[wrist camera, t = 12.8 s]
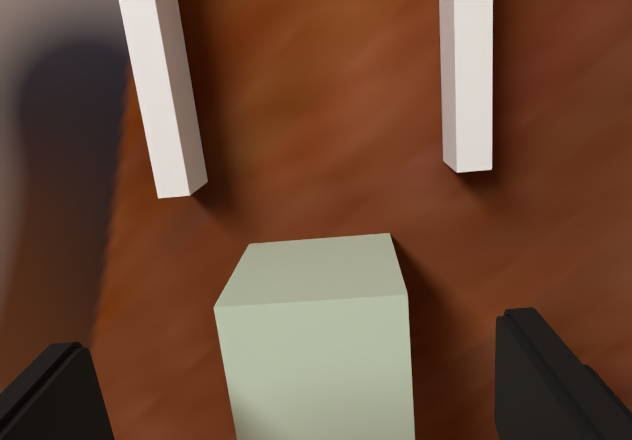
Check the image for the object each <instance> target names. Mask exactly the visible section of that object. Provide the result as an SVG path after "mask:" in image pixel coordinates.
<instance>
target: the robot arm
mask: <svg viewBox="0 0 632 440" xmlns="http://www.w3.org/2000/svg"><path fill="white" fill-rule="evenodd" d="M495 424H496V429H497V432H498V435H499V437H500V439H501V440H632V413H631V412H630V411H629V410H628V409H627V408H626V406H625V405H624V404H623V403H622V402H621V401H620V400H619V398H618V397H617V396H616V395H615V394H614V393H613V392H612V390H611V389H610V388H609V387H608V386H607V385H606V384H605V382H604V381H603V380H602V379H601V378H600V377H599V376H598V374H597V373H596V372H595V371H594V370H593V369H592V368H591V367H589V366H587V365H583V364H582V363H581V362H580V361H579V360H578V359H577V357H576V356H575V355H574V354H573V353H572V352H571V350H570V349H569V348H568V347H567V346H566V345H565V343H564V342H563V341H562V340H561V339H560V337H559V336H558V335H557V334H556V333H555V332H554V330H553V329H552V328H551V327H550V326H549V325H548V323H547V322H546V321H545V320H544V319H543V318H542V316H541V315H540V314H539V313H538V312H537V311H536V309H534V308H532V307H530V308H517V309H506V310H505V312H504V316H498V317H497V319H496V353H495ZM0 440H115V439H114V436H113V432H112V429H111V425H110V421H109V418H108V414H107V411H106V407H105V404H104V400H103V396H102V393H101V389H100V386H99V382H98V379H97V375H96V371H95V368H94V364H93V361H92V357H91V354H90V351H89V350H88V348H85V347H84V348H83V346H82V345H81V344H80V343H79V342H68V343H54V344H51V345H49V346H48V347H47V348H46V349H45V350H44V351H43V352H42V353H41V354H40V355H39V356H38V357H37V358H36V359H35V360H34V361H33V362H32V363H31V364H30V365H29V366H28V367H27V368H26V369H25V370H24V371H23V372H22V373H21V374H20V375H19V376H18V377H17V378H16V379H15V380H14V381H13V382H12V383H11V384H10V385H9V386H8V387H7V388H6V389H5V390H4V391H3V392H2V393H1V394H0Z"/></svg>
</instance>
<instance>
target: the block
mask: <svg viewBox="0 0 632 440" xmlns="http://www.w3.org/2000/svg"><path fill="white" fill-rule="evenodd" d="M214 312H215V318H216V324H217V329H218V335H219V340H220V346H221V352H222V357H223V363H224V368H225V374H226V380H227V385H228V391H229V397H230V402H231V408H232V413H233V419H234V425H235V430H236V436H237V440H415V429H414V409H413V389H412V369H411V350H410V330H409V310H408V294H407V290H406V287H405V284H404V280H403V277H402V273H401V270H400V266H399V263H398V260H397V256H396V253H395V249H394V246H393V243H392V239H391V236H390V233H385V234H372V235H359V236H346V237H333V238H320V239H307V240H294V241H281V242H268V243H255V244H249V245H248V247H247V249H246V251H245V253H244V254H243V256H242V258H241V260H240V261H239V263H238V265H237V267H236V269H235V270H234V272H233V274H232V276H231V277H230V279H229V281H228V283H227V285H226V286H225V288H224V290H223V292H222V293H221V295H220V297H219V299H218V301H217V302H216V304H215V306H214Z"/></svg>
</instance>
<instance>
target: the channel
mask: <svg viewBox="0 0 632 440" xmlns="http://www.w3.org/2000/svg"><path fill="white" fill-rule="evenodd" d="M119 3H120V8H121V13H122V18H123V23H124V28H125V33H126V38H127V43H128V48H129V53H130V59H131V64H132V69H133V74H134V79H135V84H136V89H137V94H138V99H139V104H140V109H141V114H142V119H143V124H144V129H145V134H146V139H147V144H148V149H149V154H150V159H151V164H152V169H153V174H154V179H155V184H156V189H157V194H158V198H167V197H179V196H190V195H191V194H193V193H194V192H195V191H196V190H198V189H199V188H200V187H202V186H203V185H204V184H206V183H207V182H208V179H207V173H206V167H205V161H204V156H203V150H202V144H201V138H200V132H199V126H198V120H197V114H196V108H195V102H194V96H193V90H192V84H191V78H190V72H189V66H188V60H187V54H186V48H185V42H184V36H183V30H182V24H181V18H180V12H179V6H178V0H119ZM439 9H440V50H441V91H442V131H443V161H444V162H445V163H446V164H447V165H448V166H450V167H451V168H452V169H453V170H454V171H455V172H457V173H459V172H471V171H482V170H492V69H493V0H439Z"/></svg>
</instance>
